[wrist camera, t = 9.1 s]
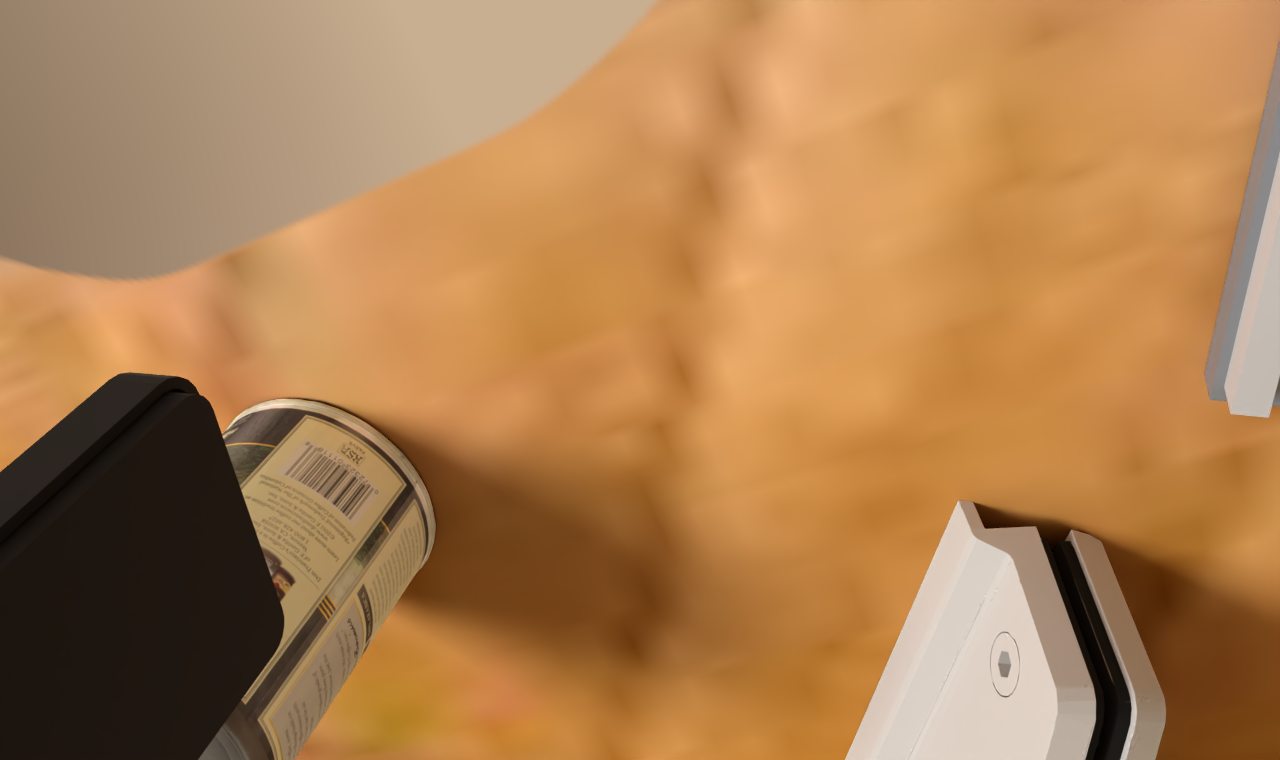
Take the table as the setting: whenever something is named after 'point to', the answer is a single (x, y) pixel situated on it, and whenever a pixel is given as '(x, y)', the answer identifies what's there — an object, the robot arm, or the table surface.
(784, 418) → the table surface
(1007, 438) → the table surface
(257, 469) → the coffee can
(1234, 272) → the gauge board
